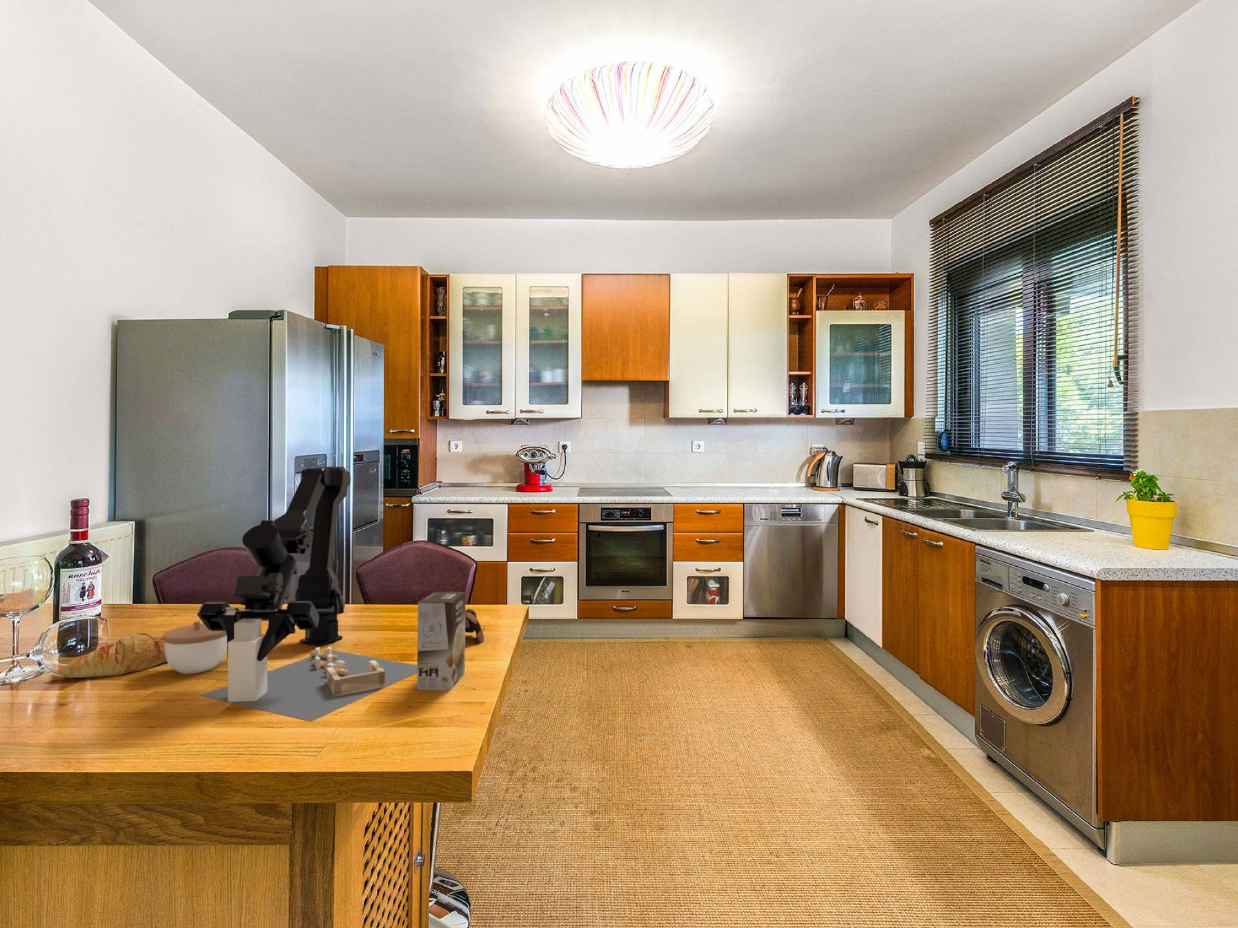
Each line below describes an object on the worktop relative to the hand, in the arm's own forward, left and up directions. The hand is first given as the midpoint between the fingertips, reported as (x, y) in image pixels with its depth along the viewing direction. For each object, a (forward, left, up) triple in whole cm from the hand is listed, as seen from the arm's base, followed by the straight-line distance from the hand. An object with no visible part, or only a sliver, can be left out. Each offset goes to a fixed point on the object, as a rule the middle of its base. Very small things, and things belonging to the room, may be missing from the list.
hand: (244, 660), depth 110 cm
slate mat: (+4, +12, -7) cm, 15 cm away
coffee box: (+24, +21, -7) cm, 33 cm away
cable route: (-1, +19, -7) cm, 20 cm away
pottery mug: (+11, +45, -7) cm, 47 cm away
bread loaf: (-36, +3, -8) cm, 37 cm away
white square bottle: (-1, +1, -7) cm, 7 cm away
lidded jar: (-23, +7, -7) cm, 25 cm away
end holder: (+11, +13, -7) cm, 19 cm away
